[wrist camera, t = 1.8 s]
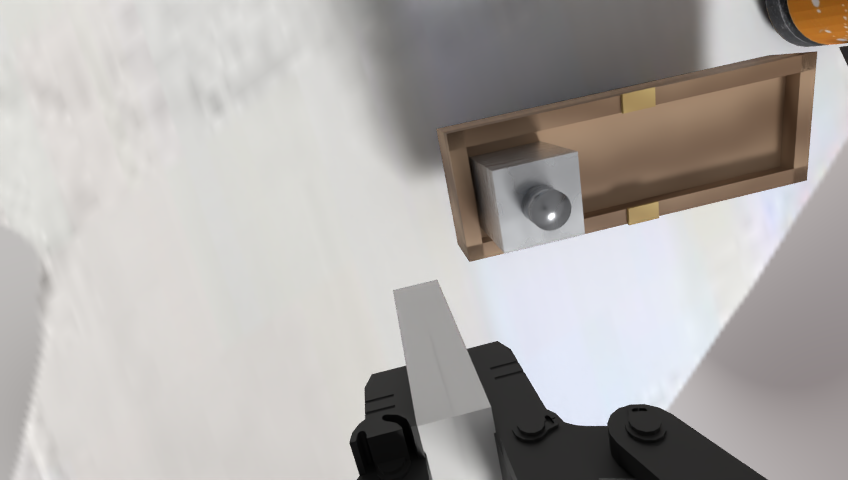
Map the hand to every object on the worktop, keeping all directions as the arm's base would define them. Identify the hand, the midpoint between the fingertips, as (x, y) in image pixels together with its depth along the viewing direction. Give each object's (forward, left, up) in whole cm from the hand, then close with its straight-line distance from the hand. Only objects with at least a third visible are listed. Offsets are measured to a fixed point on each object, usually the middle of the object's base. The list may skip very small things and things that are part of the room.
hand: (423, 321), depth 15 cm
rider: (0, +7, -14) cm, 15 cm away
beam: (0, +15, -20) cm, 25 cm away
